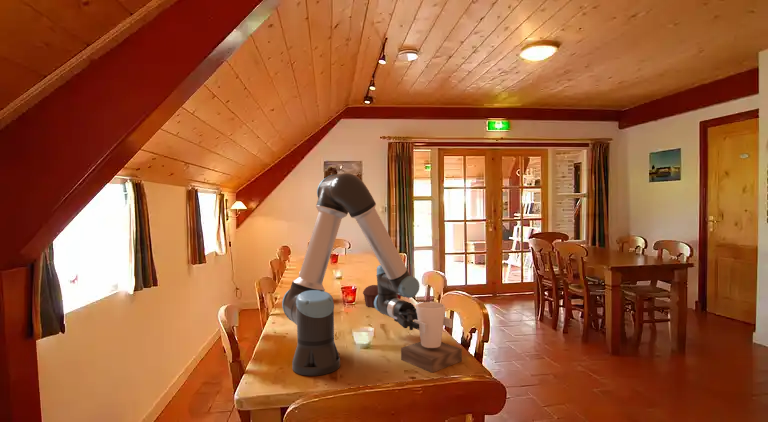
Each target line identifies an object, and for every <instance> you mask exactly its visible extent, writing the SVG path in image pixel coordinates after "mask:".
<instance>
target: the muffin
mask: <svg viewBox="0 0 768 422" xmlns="http://www.w3.org/2000/svg"><path fill="white" fill-rule="evenodd" d="M362 294H363V298H364V302H365V306H366V307H367V308H370V309H374V308H375V306H374V300H375V298H376V296H377V295H378V285H377V284H372V285H368V286H366V287H365V288H364V289H363V291H362ZM375 309H376V308H375Z"/></svg>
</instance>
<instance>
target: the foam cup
mask: <svg viewBox="0 0 768 422" xmlns="http://www.w3.org/2000/svg"><path fill="white" fill-rule="evenodd" d="M415 308H416V313H417V317H418V321H420V322H423V323H425V324H427V333H424V332H421V331H419V337H420V342H421V345H422V346H424V347H427V348H437V347H439V346H440V345H441V342H442V338H443V337H442V336H443V330H444V325H443V322H444V314H445V315H446V305H445V304H444V303H441V302H439V301H438V302H436V301H425V302H420V303H419V302H418V303H417V304H416V305H415Z"/></svg>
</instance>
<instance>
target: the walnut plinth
mask: <svg viewBox="0 0 768 422" xmlns="http://www.w3.org/2000/svg"><path fill="white" fill-rule="evenodd" d="M462 351H463V349H462V348H460V347H457V346H455V345H452V344H449V343H445V342H443V341H441V345H440V346H439V347H437V348H427V347H424V346H422V345H421V341H418V342H415V343H412V344H409V345H406V346H403V347H400V359H401V361H403V362H405V363H408V364H410V365H413V366H416V367H418V368H420V369H422V370H425V371H427V372H430V373H435V372H437V371H441V370H442V369H445V368H447V367H450V366H452V365H455V364H457V363H460V362H462V360H463V359H462V357H463V356H462V355H463V354H462Z"/></svg>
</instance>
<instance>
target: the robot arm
mask: <svg viewBox="0 0 768 422" xmlns="http://www.w3.org/2000/svg"><path fill="white" fill-rule="evenodd" d="M316 196H317V201H316V205H315V207H316V210H317V211H318V212H317V216H316V220H315V223H314V226H313V228H312V232H311V235H310V239H309V242H308V245H307V247H306V248H307V249H306V252H305V255H304V258H303V262H302V264H301V267H300V271H299V272H300V274H299V273H298V277H296V278H295V279H293V280H292V282H291V286H290V288H289V289H288V290H287V291H286V292H285V294H284V296H283V298H282V301H281V303H282V304H281V308H282V311H283V312H284V315H285V316H286V318H287V319H288V320H289V321H291V322H292V323H294V324H295V325H296V331H297V335H296V337H297V343H296V344H297V345H296V348H295V350H294V355H293V358H292V361H291V362H292V365H291V366H292V368H291V369H292V371H293V372H294V373H295V374H298V375H301V376H307V377H309V376H311V377H313V376H317V377H318V376H323V375H326V374H327V375H328V374H331V373H333V372H336V371H337V370H338V369H339V368H340V366H341V358H340V354H339V351H338V348H337V345H336V342H335V315H334V314H335V311H334V309H335V304H334V299H333V296H332V294H331V293H329V292H327V291H325V290H326V289H325V287H324V286H323V281H324V278H325V275H326V273H327V272H326V271H327V268H328V266H329V265H328V264H329V262H330V259H331V256H332V252H333V248H334V245H335V242H336V239H337V236H338V232H339V229H340V225H341V222H342V219H344V218H346V217H347V216H348V215H349V216H350V218H352V219H355V222H356V223H357V224H358V226H359V228H360V230H361V232H362V233H363V235H364V237H365V238H366V240H367V242H368V244H369V246H370V248H371V249H372V251H373V253H374V255H375V257H376V259H377V261H378V263H379V265H377V267H376V282H377V283H376V285H378V295H377V296H376V298H375V300H374V306H375V310H376V311H377V312H379V313H380V314H383V315H384V316H388V318H392V319H393V321H394V322H396V323H398V324H399V325H400V327H403V329H407V328H409V329H408V330H409V331H414V329H415V330H417V331H418V332H420V331H421V332H424V333H427V324H425V323H423V322H420V321H418V317H417V313H416V306H415V305H414V304H413V303H412V302H410V301H406V300H405V299H402V297H404V298H408V299H410V298H414V297H415V296H417V295H418V293H419V291H420V282H419V281H418V279H417V278H416V277H414V276H412V275H411V274H410V272H409V270H408V268H407V267H406V265H405V262H404V261H403V259H402V257H401V256H400V253H399V251H398V249H397V248H396V246H395V244H394V242H393V240H392V238H391V236H390V235H389V232H388V230H387V228H386V226H385V224H384V223H383V221H382V219H381V217H380V215H379V213H378V211H377V210H376V206H377V203H376V201H375V199H374V197H373V194H371V192H370V190H369V189H368V187H367V186H366V184H365V182H364V181H363V180H362V179H361V178H360V177H359V176H357V175H355V174H353V173H349V172H348V173H347V172H346V173H345V172H344V173H339V174H331V175H328V176H326V177H324V178H323V179H322V180H321V181H320V182H319V184H318V186H317V189H316ZM397 294H398V295H400V296H401V299H399V298H398V297H397ZM444 326H445V327H447V328H449V329H452V328H453V319H452V318H449V317H448V316H447V317H446V313H445V314H444V322H443V327H444Z"/></svg>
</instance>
